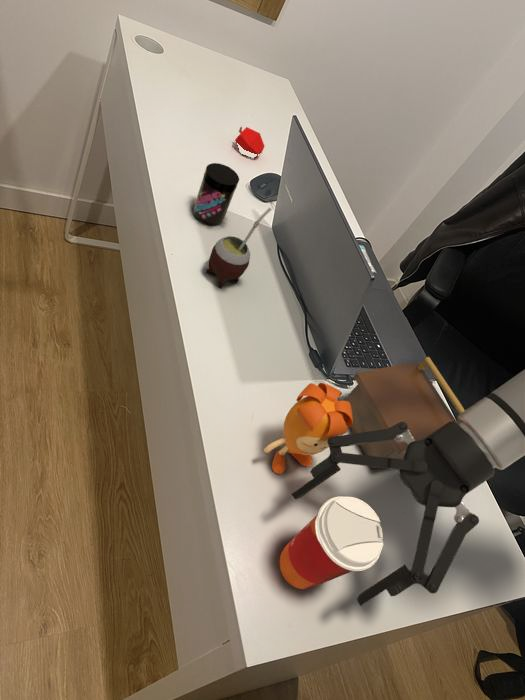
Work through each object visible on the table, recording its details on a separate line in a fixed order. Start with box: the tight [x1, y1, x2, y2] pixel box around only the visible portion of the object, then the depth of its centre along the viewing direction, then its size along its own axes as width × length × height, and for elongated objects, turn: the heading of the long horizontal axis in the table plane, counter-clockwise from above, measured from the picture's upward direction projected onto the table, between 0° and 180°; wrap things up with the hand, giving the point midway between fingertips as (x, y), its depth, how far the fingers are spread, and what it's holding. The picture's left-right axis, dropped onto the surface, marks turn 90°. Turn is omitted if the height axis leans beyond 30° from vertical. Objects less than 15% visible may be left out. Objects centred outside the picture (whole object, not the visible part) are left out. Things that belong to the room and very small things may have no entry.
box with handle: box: [342, 356, 466, 470], centre depth 81 cm, size 14×14×12 cm
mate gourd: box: [205, 207, 272, 289], centre depth 89 cm, size 8×8×15 cm
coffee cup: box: [279, 495, 384, 590], centre depth 60 cm, size 8×8×15 cm
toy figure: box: [263, 382, 353, 475], centre depth 70 cm, size 12×8×15 cm, turn 112°
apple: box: [234, 126, 266, 155], centre depth 123 cm, size 7×7×8 cm
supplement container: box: [192, 162, 240, 226], centre depth 100 cm, size 7×7×10 cm
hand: (325, 546), depth 59 cm, fingers open, 13 cm apart
